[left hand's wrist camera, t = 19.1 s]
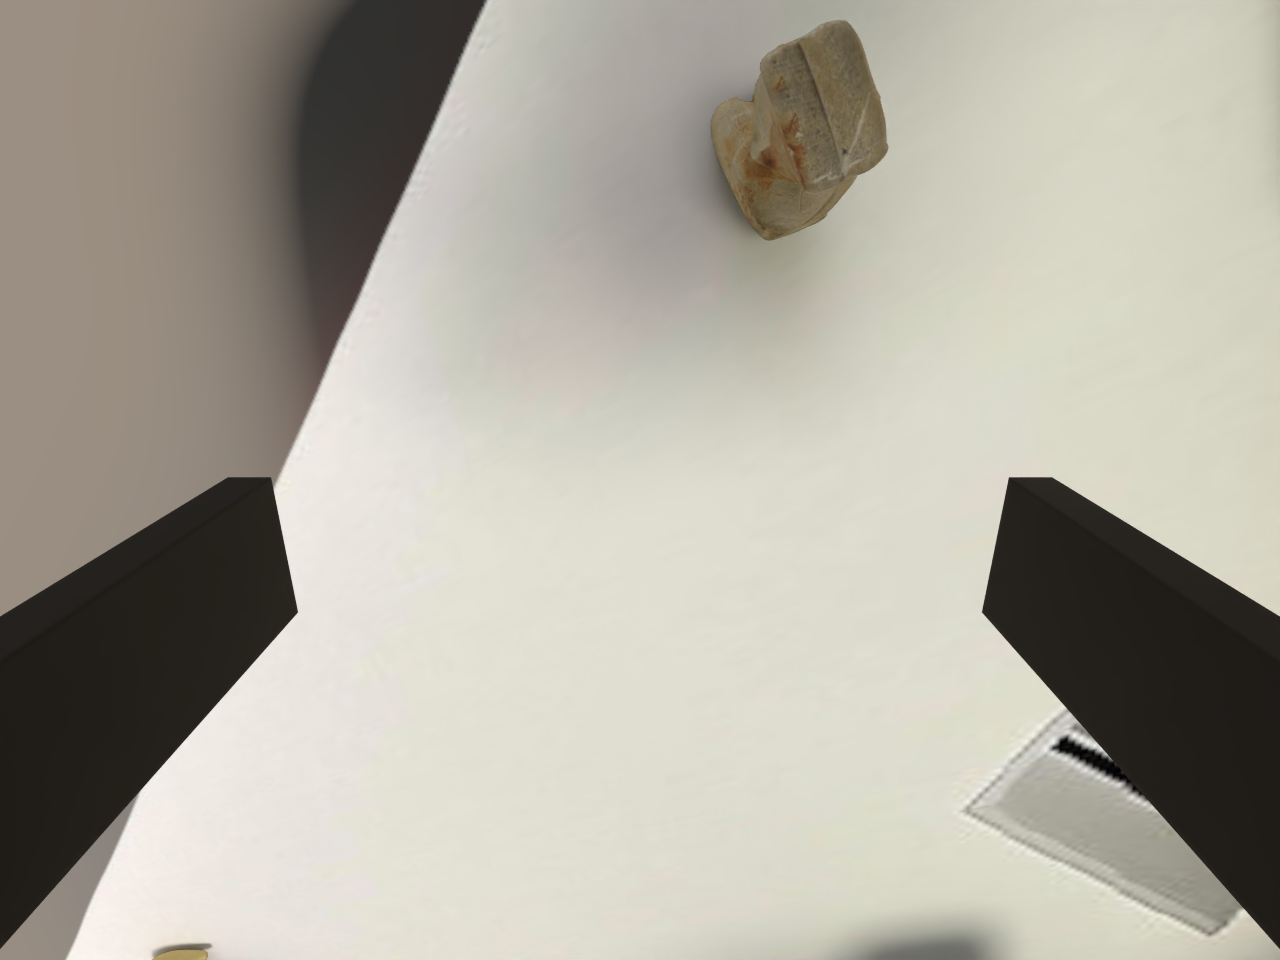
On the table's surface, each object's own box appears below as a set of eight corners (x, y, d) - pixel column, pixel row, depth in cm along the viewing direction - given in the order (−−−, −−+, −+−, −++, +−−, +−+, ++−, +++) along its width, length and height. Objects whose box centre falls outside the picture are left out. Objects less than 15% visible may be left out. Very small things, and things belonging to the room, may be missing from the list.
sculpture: (798, 75, 36) (899, -23, 22) (831, 214, 38) (943, 207, 24) (692, 117, 36) (724, 49, 22) (731, 251, 39) (783, 265, 25)
